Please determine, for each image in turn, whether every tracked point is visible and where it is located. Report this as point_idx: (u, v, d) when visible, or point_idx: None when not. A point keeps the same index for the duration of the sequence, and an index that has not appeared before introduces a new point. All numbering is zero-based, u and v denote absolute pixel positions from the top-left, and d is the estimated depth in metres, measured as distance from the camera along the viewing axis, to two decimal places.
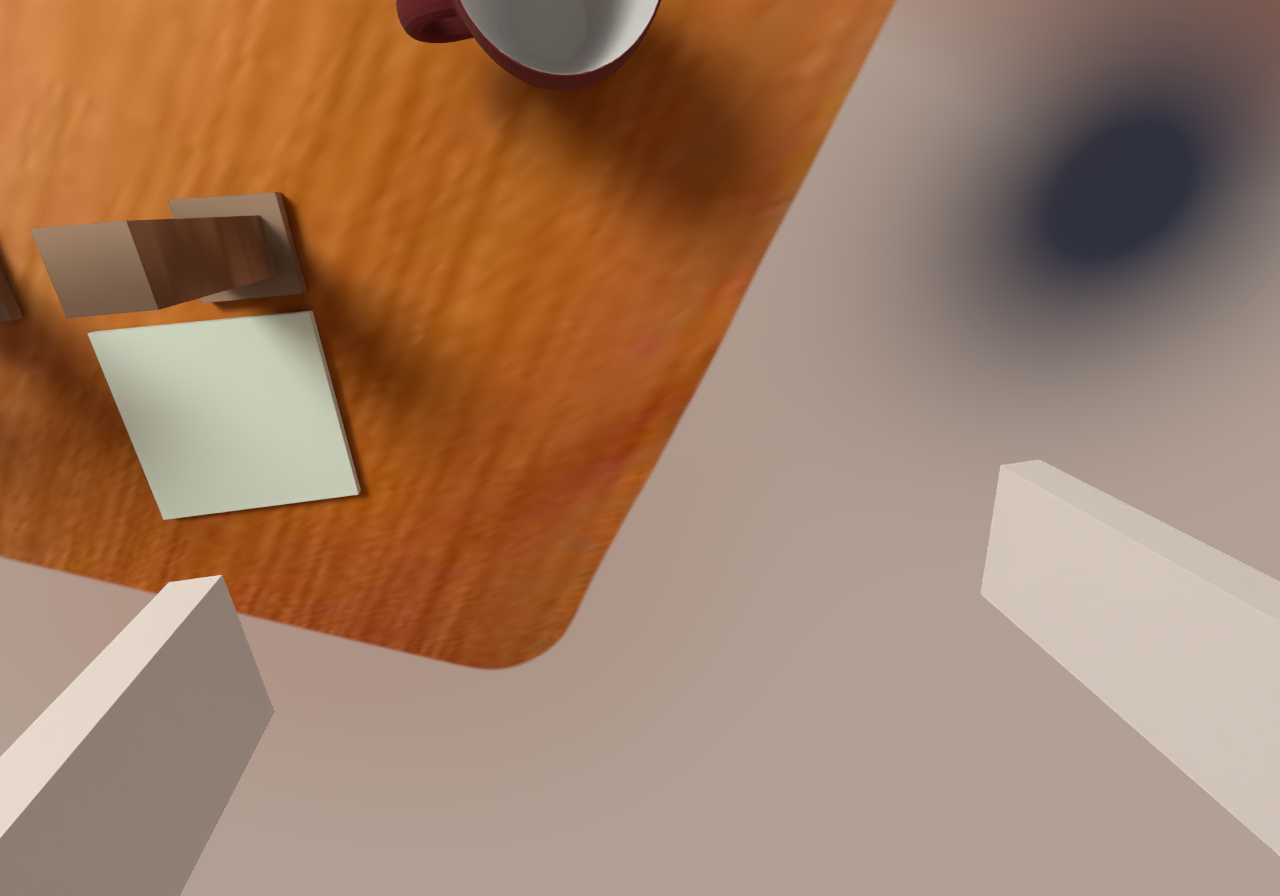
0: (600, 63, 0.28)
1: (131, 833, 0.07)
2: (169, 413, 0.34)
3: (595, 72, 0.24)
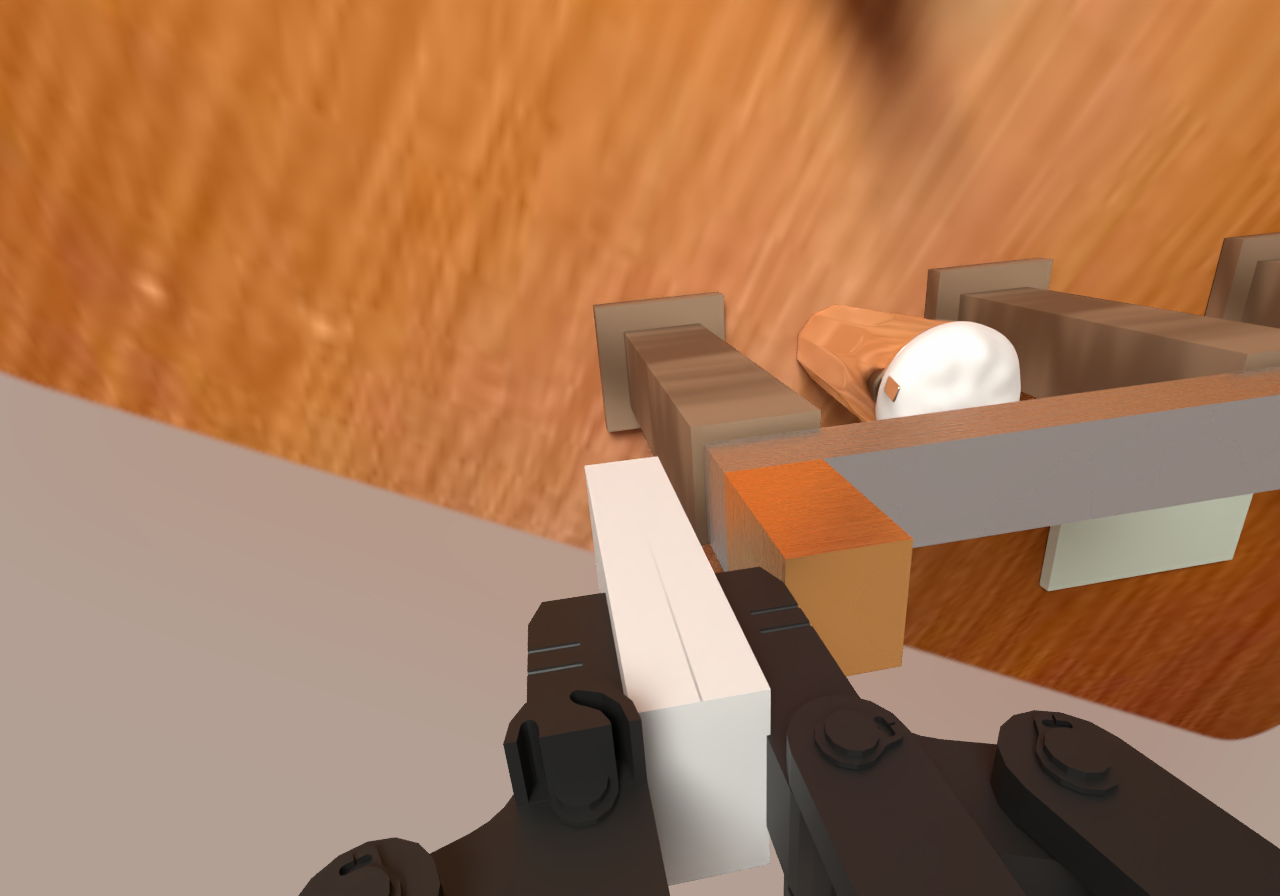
0: None
1: None
2: None
3: None
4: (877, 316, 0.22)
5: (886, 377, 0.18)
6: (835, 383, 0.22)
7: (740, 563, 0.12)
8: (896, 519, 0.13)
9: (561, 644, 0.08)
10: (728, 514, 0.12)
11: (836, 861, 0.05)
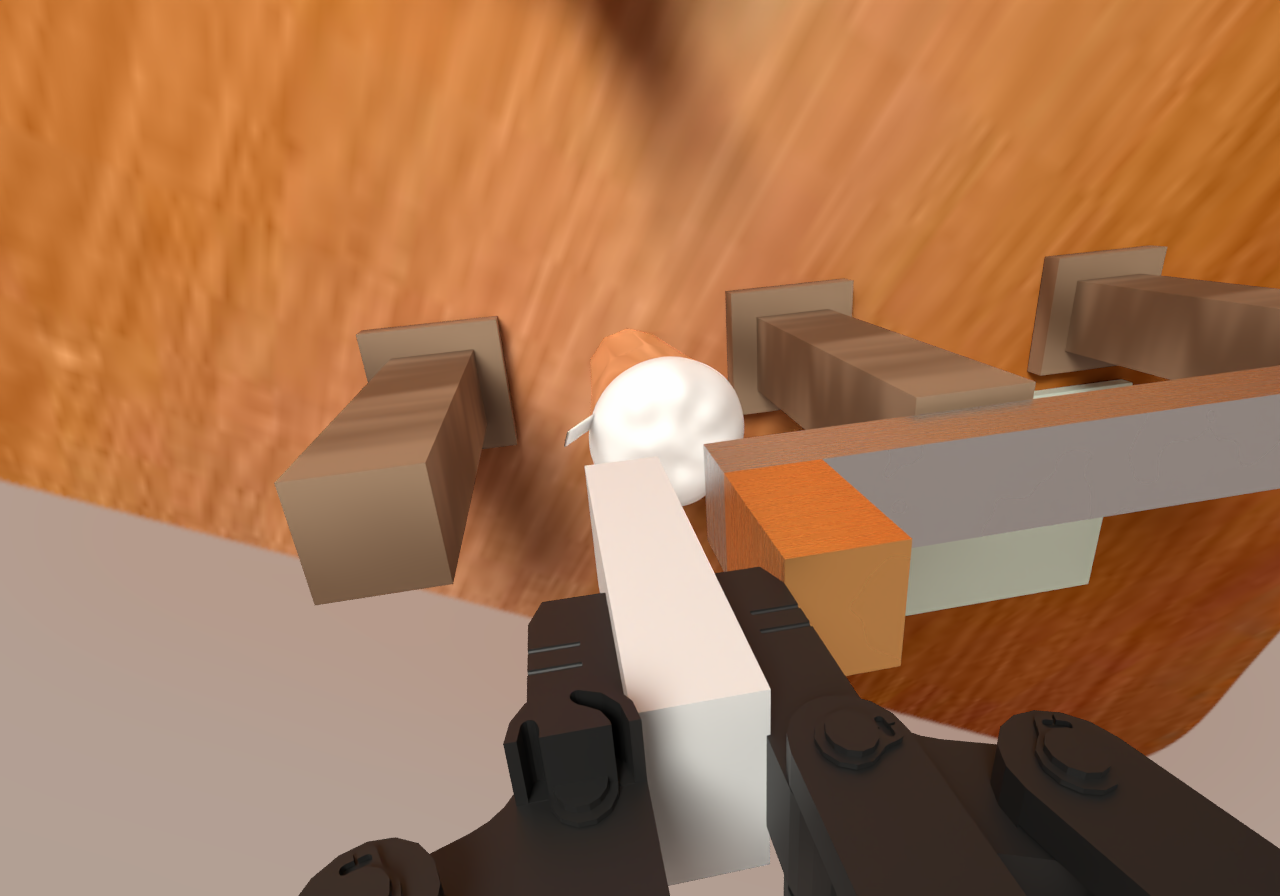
0: None
1: None
2: None
3: None
4: (633, 345, 0.21)
5: None
6: None
7: (739, 564, 0.12)
8: (896, 519, 0.13)
9: (561, 644, 0.08)
10: (728, 514, 0.12)
11: (836, 861, 0.05)
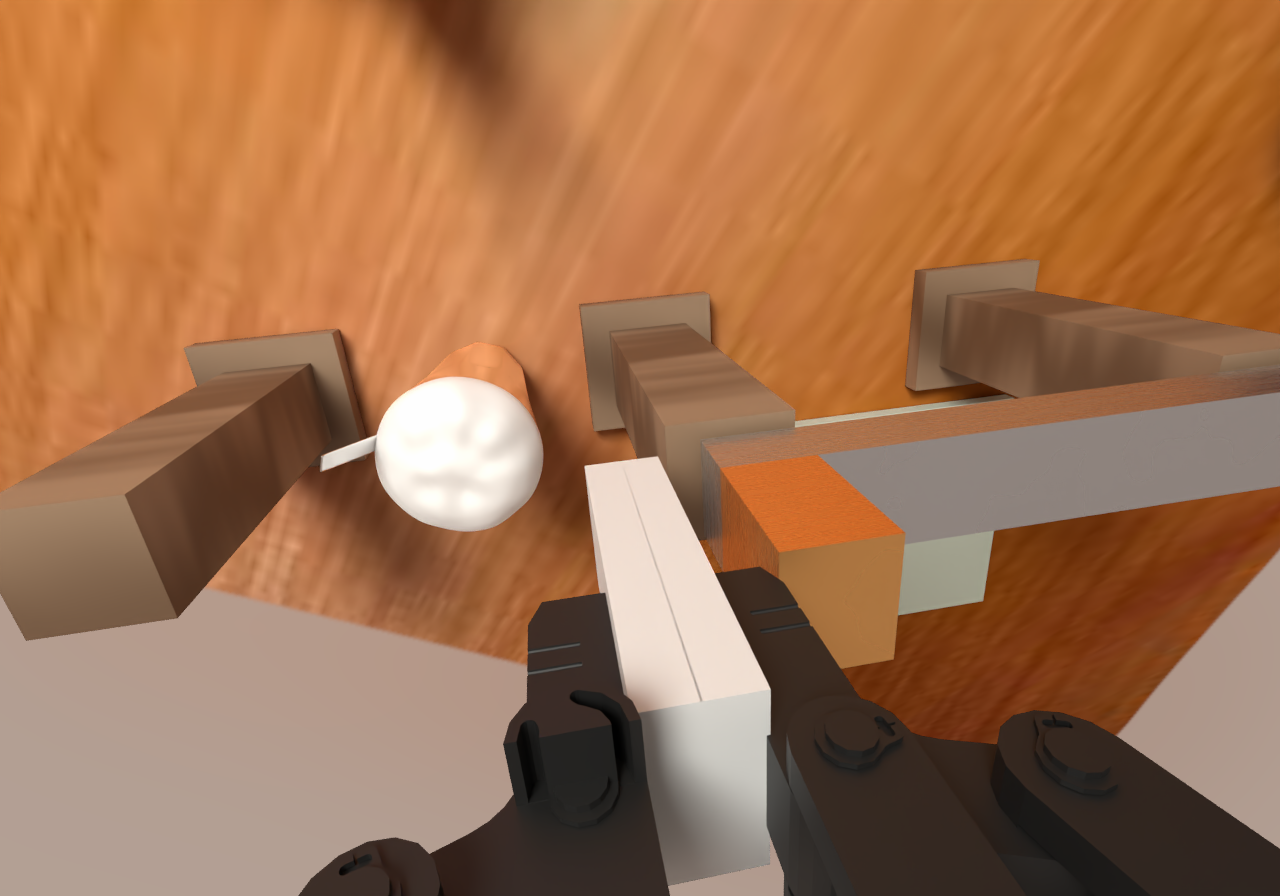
0: None
1: None
2: None
3: None
4: (455, 361, 0.20)
5: (375, 437, 0.17)
6: None
7: (735, 557, 0.12)
8: (891, 515, 0.13)
9: (561, 644, 0.08)
10: (724, 509, 0.12)
11: (836, 861, 0.05)
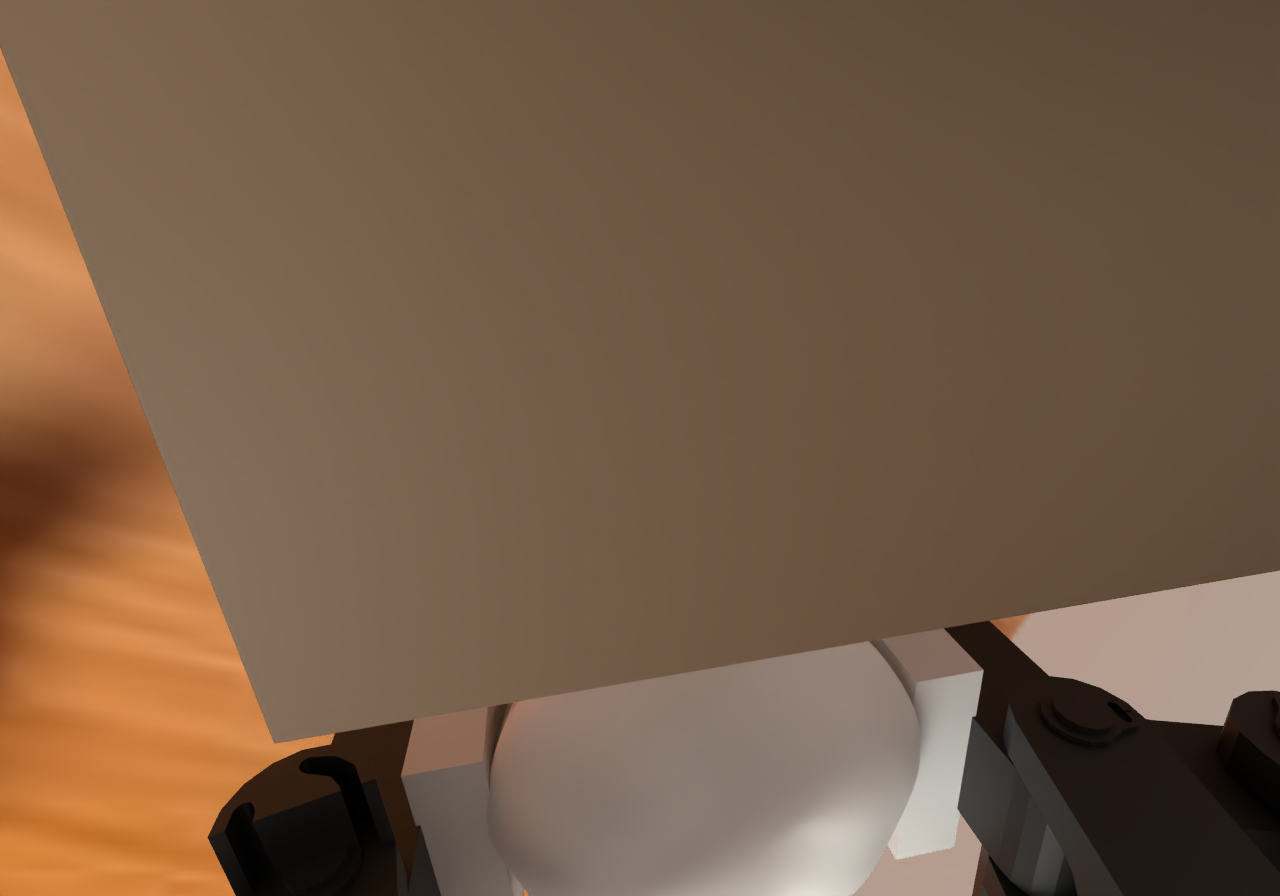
0: None
1: None
2: None
3: None
4: None
5: None
6: None
7: None
8: None
9: None
10: None
11: (1069, 823, 0.05)
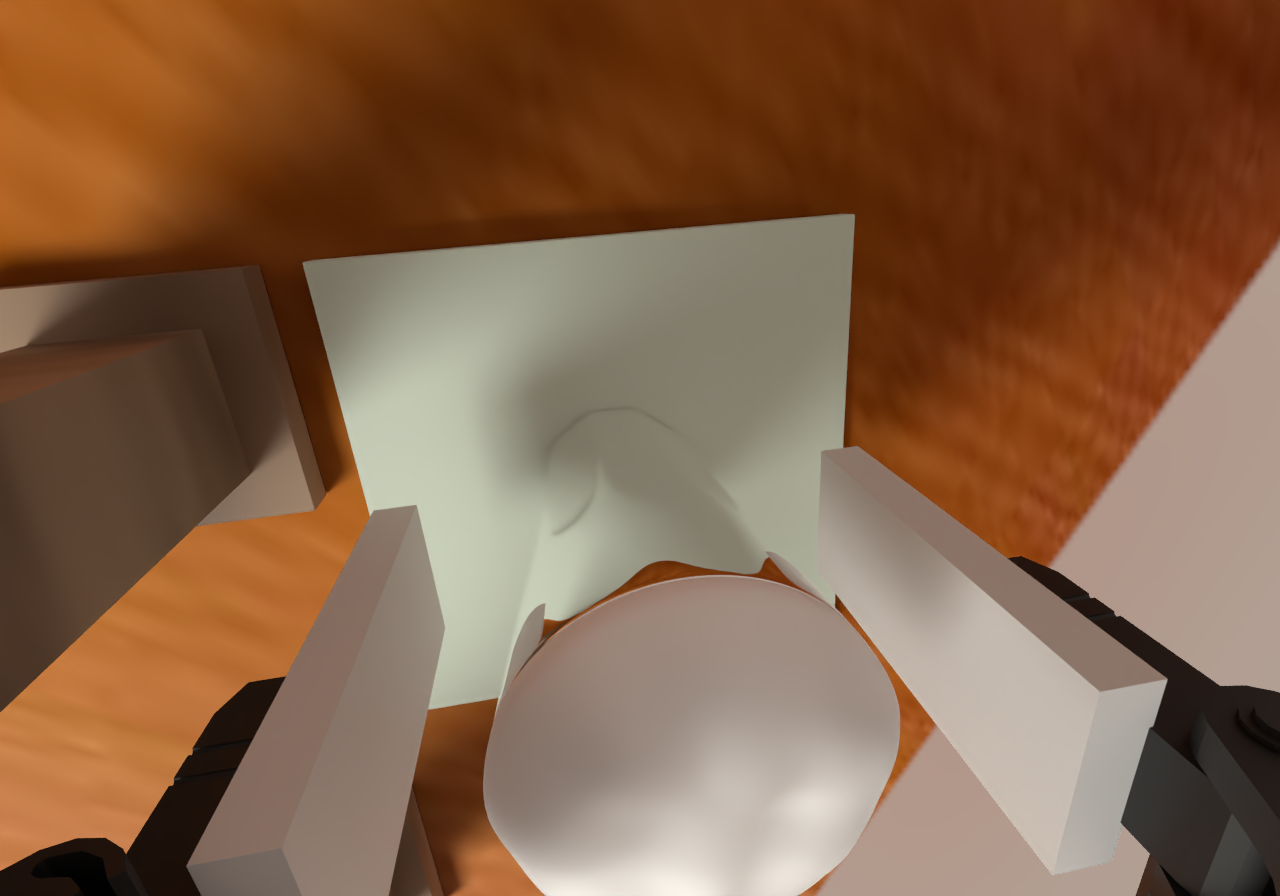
0: None
1: (397, 692, 0.09)
2: None
3: None
4: None
5: None
6: None
7: None
8: None
9: (233, 741, 0.07)
10: None
11: (1273, 828, 0.05)
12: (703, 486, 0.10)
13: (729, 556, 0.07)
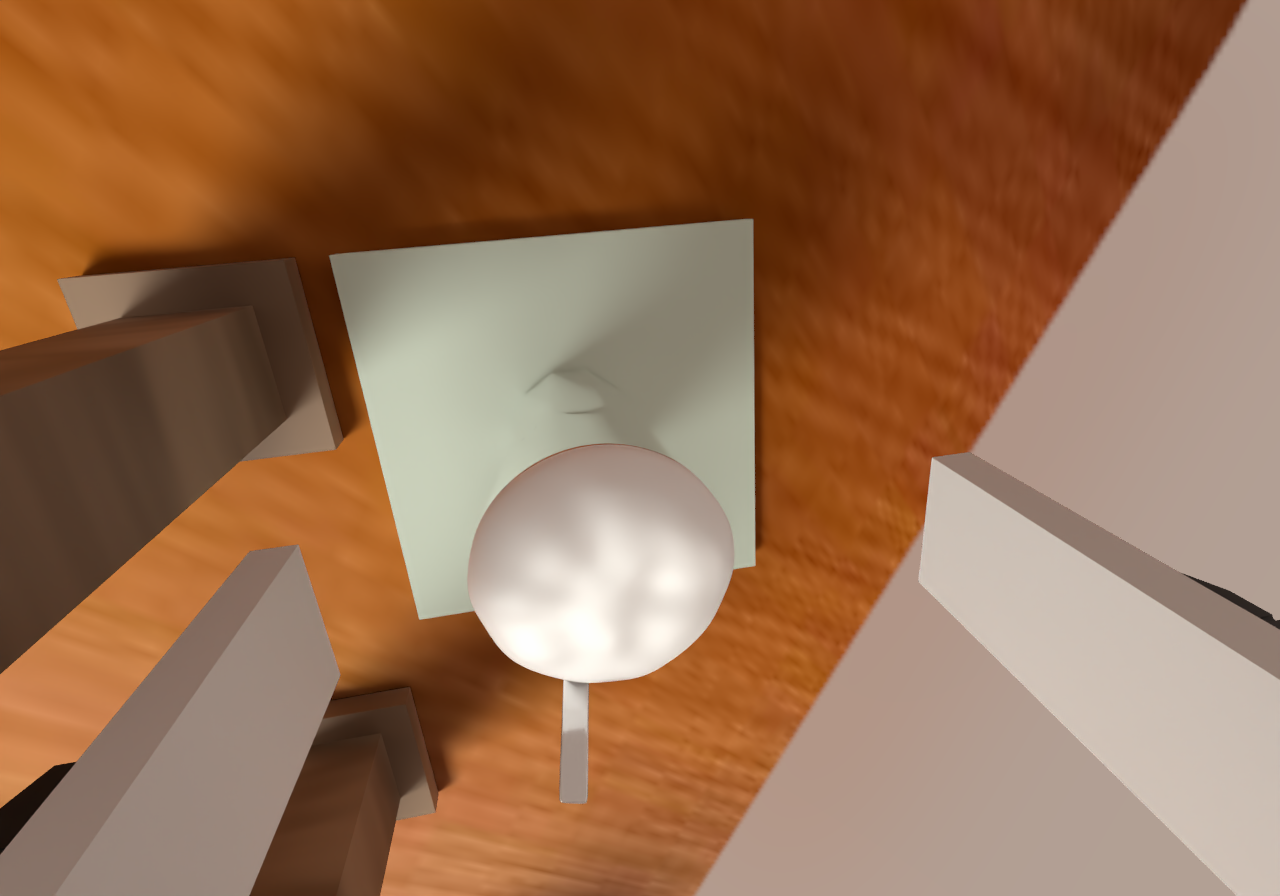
0: None
1: (239, 769, 0.08)
2: None
3: None
4: None
5: None
6: None
7: None
8: None
9: None
10: None
11: None
12: (625, 414, 0.14)
13: (623, 438, 0.11)
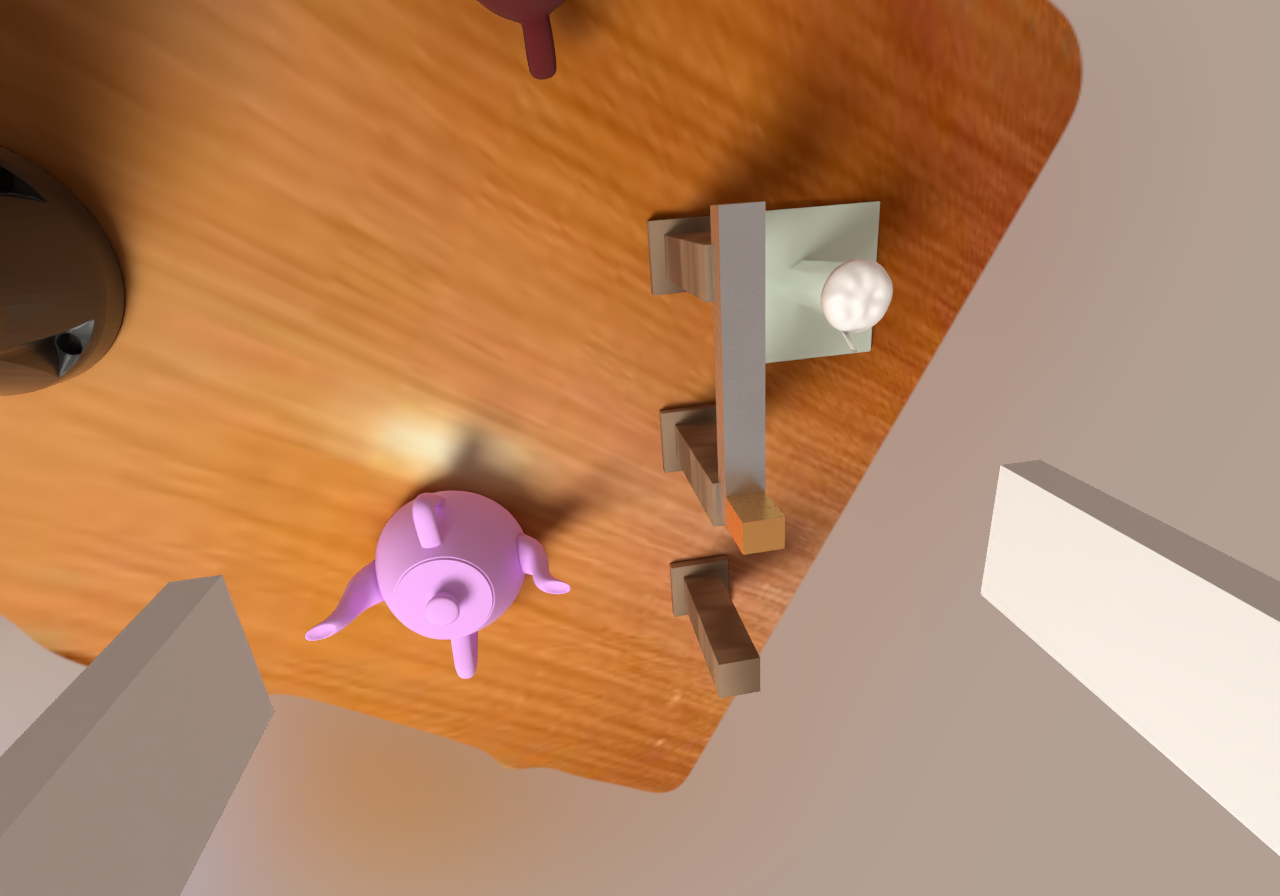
0: None
1: (131, 833, 0.07)
2: (794, 328, 0.47)
3: None
4: (803, 295, 0.42)
5: (842, 331, 0.40)
6: None
7: None
8: (752, 467, 0.36)
9: None
10: None
11: None
12: None
13: None
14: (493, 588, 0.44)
